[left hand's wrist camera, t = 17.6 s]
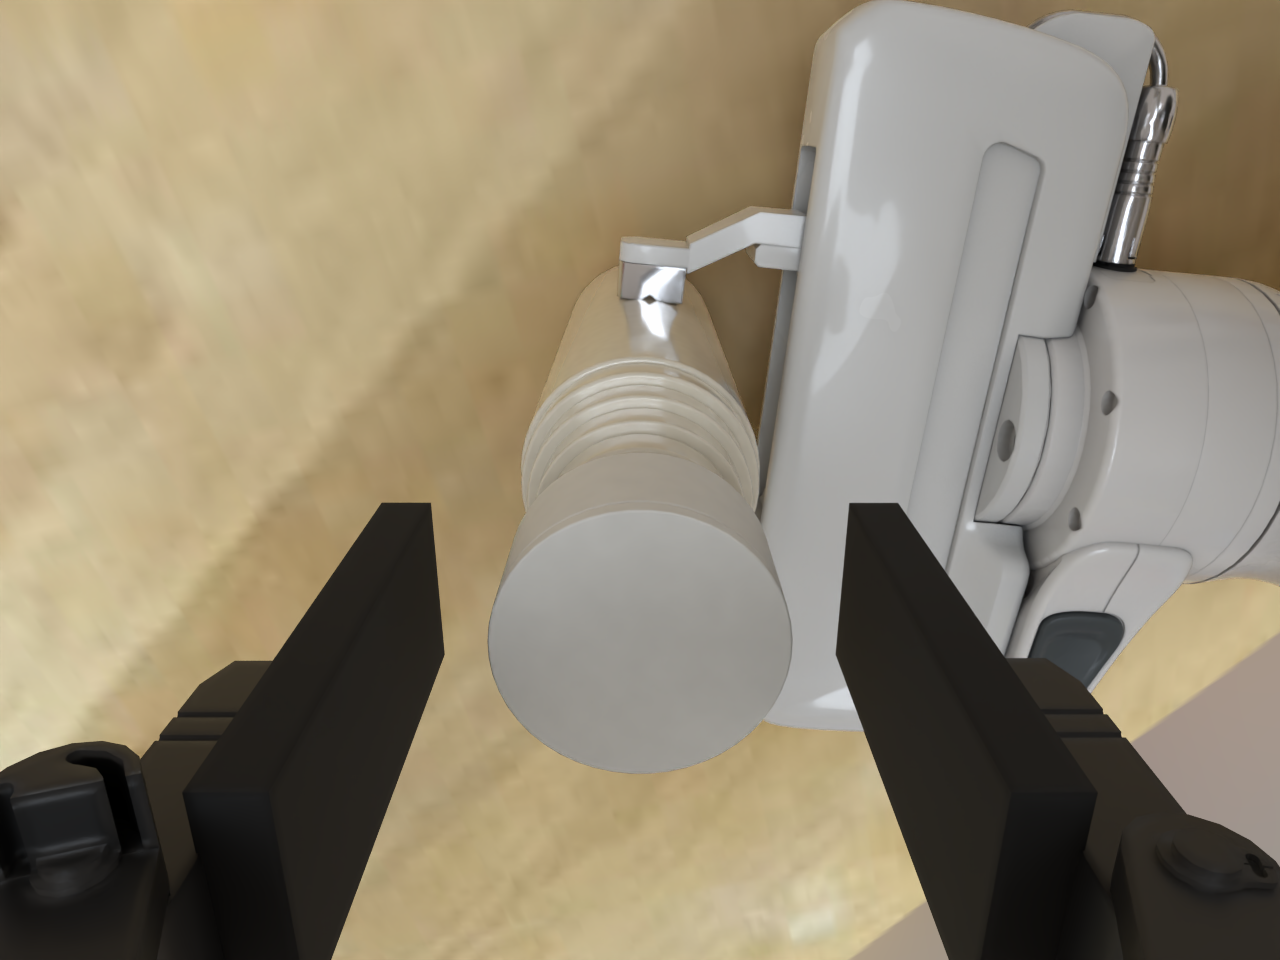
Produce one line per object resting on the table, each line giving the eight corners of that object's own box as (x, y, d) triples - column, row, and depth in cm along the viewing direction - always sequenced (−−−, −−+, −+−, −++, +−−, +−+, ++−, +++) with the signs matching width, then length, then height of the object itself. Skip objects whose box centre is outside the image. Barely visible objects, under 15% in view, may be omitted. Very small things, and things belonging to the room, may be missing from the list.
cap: (601, 400, 14) (593, 450, 11) (823, 541, 14) (855, 613, 12) (462, 605, 15) (432, 686, 13) (674, 725, 16) (679, 818, 14)
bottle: (741, 326, 32) (887, 614, 13) (648, 429, 33) (657, 826, 14) (631, 230, 30) (618, 394, 12) (540, 342, 32) (395, 648, 13)
